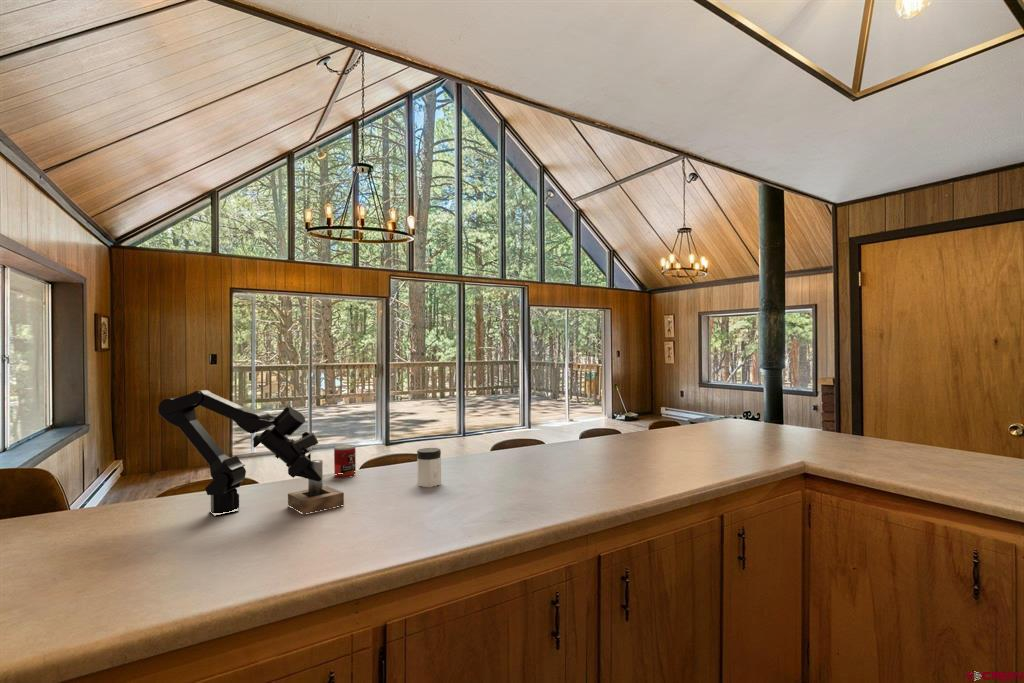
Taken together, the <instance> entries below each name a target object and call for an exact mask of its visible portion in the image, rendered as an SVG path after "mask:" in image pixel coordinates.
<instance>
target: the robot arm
mask: <svg viewBox="0 0 1024 683" xmlns="http://www.w3.org/2000/svg"><path fill="white" fill-rule="evenodd" d="M200 406H201V407H203V408H206V409H207V410H210V411H212V412H215V413H216V414H219V415H221V416H224V417H225V418H228V419H230V420H232V421H233V422H235V424H236V425H237V426H238V427H239V428H240V429H242V430H243V431H245V432H247V433H248V434H255V433H259V432H261V434H259V435H255V436H254V437H253V438H252V441H253V445H252V446H253V448H255V449H256V447H258V446H259V445H260V444H261V445H263V447H265V448H266V449H268V450H269V451H270V452H271V453H273V455H274V457H275V458H276V459H279V460H281V461H282V462H283V463H284V464H285V466H286V467H287V474H288V475H289V476H290V477H292V478H293V479H294V478H295V477H299V478H303V479H311V480H314V481H318V482H319V481H320V480H321V477H320V476H319V475H318V473H317V472H316V471H315V470H314V469H313V467H312V466H311V461H312V459H311V457H312V456H311V453H310V449H309V448H310V447H313V446H316V445H318V444H319V440H318V438H317V437H316V435H315V433H314V432H309V431H304V432H303V433H301V438H298V439H297V440H294V439H293V438H288V437H287V436H292V435H293V434H294V433H295V432H296V431H297V430H298V429H299V428H300V427H301V426H302V425H303V424H304V423H306V418H305V416H304V415H303V414H302V412H299V411H298V410H297V409H295V408H292V407H291V406H286V407H285V408H284V409H283V410H282V412H280V413H279V414H278V415H277V416H275V415H270V413H269V412H267V411H264V410H260V409H255V408H249V407H245V406H242V405H241V404H237V403H235V402H233V401H231V400H229V399H226V398H224V397H221V396H219V395H217V394H215V393H212V392H211V390H207V389H201V390H200V389H199V390H194V391H193V392H191V393H188V394H185V395H183V396H182V395H181V396H179V397H171V398H165V399H163V400H161V401H160V402H159V404H158V409H157V413H158V415H159V416H160V417H161V418H162V419H163V420H165V421H166V422H167V423H169V424H170V425H172V426H175V427H177V428H178V429H180V431H181V432H182V434H183V435H185V437H186V438H187V440H188V441H189V442H190V443H191V445H192V446H193V447H194V448H195V450H196V451H197V452H198V453H199V454H200V456H201V457H202V458H203V459H204V460H205V462H206V463H207V464H208V466H209V473H210V477H211V478H212V481H211V482H210V483H209V484H208V485H207V486H206V487H205V488H204V489H205V492H206V495H207V496H210V510H211V512H212V513H223V512H229V511H232V510H234V509H237V508H238V509H239V508H240V494H239V493H238V488H240V487H241V484H242V482H243V481H244V480H245V479H246V475H247V474H246V473H247V471H246V470H247V469H246V468H245V466H246V464H244V463H242V461H241V460H240V458H239V457H238V456H237V455H234V456H233V455H232V456H231V457H230V456H228V455H226V453H225V452H224V451H223V450H222V448H221V447H220V446H219V445H218V443H216V441H215V440H214V439H213V438H212V436H211V435H210V434H209V432H207V430H206V429H205V428H204V426H203V425H202V424H201V423H200V421H199V420H198V419H197V416H196V415H197V414H196V408H198V407H200ZM272 426H273V427H272ZM270 427H272V428H271V429H269V428H270ZM307 453H308V454H307ZM306 454H307V455H306Z"/></svg>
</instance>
